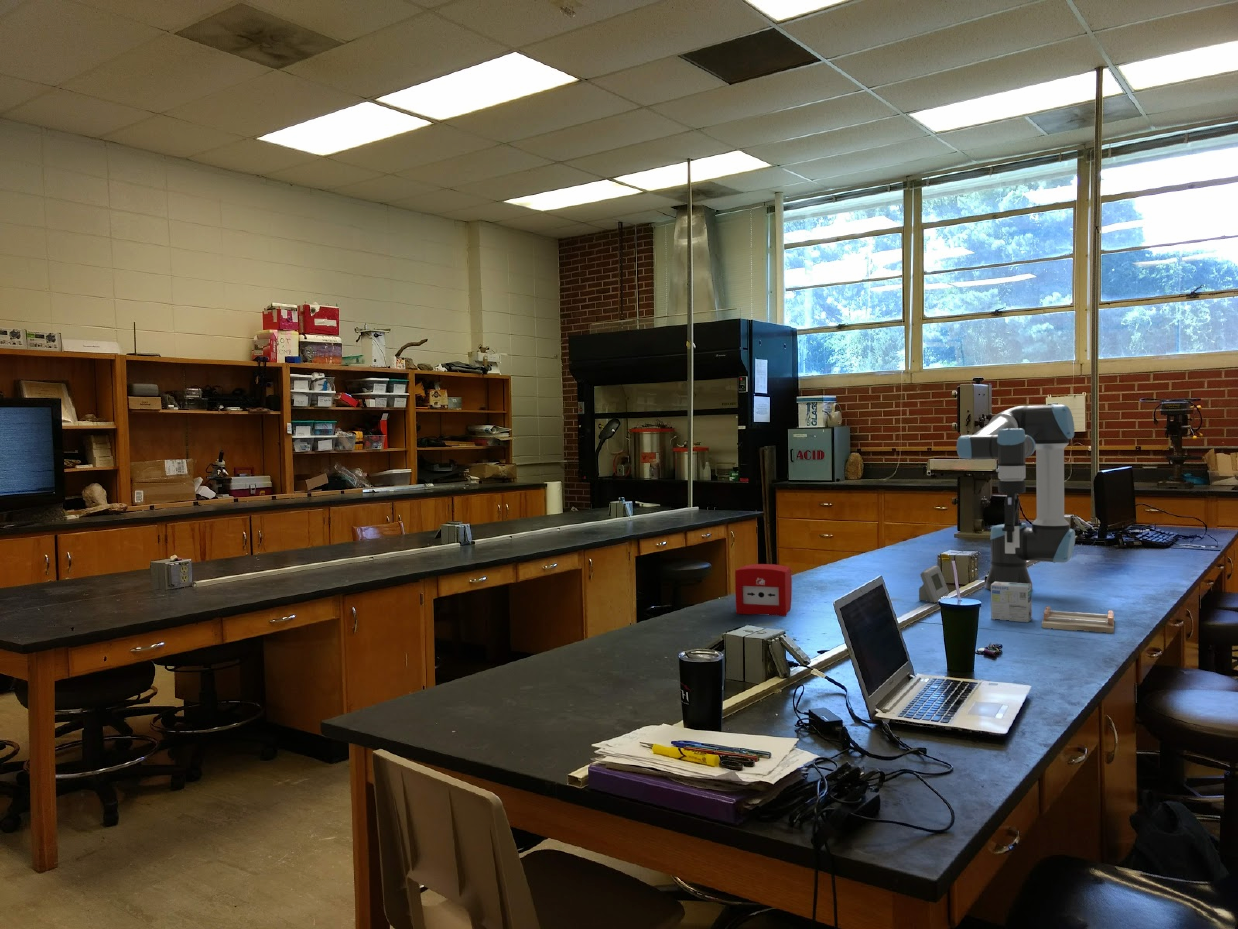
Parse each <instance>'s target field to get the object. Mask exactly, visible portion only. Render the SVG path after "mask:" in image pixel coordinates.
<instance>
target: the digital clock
mask: <svg viewBox="0 0 1238 929" xmlns="http://www.w3.org/2000/svg"><path fill="white" fill-rule="evenodd" d="M920 577H921V580H922V583H923V584H922V586H920V587H919V588H918V598H919V599H918V600H927V601H926V602H928V601H931V602H934V603H933V604H936V603H935V602H937V603H939V602H938V600H939V599H941V597H943V596H946V597H947V596H948V595H950V592H949V591H950V590H949V589H948V585H947V583H946V581H945V577H944V576H943V573H942V571H941V567H940V566H939V565H933V566H930V567H928V568H926V569H924V570H923V571H922V572H921V573H920ZM931 602H930V603H931Z"/></svg>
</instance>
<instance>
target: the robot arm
mask: <svg viewBox="0 0 1238 929" xmlns="http://www.w3.org/2000/svg"><path fill="white" fill-rule="evenodd" d="M1074 436H1075V422H1074V417H1073V414H1072V411H1071V409H1070V407H1069V406H1067V405H1065V404H1054V403H1052V404H1036V405H1032V404H1031V405H1019V406H1014V407H1011V408H1007V409H1006V410H1002V411H1001V412H999V413H997V414H995V415H993V416H992V417H991V419H990V420H989V423H988V424H987V425H985V426H984V427H982V428H981V429H979V430H978V431H977V432H975V433H973V434H966V435H960V436H959V437H958V438H957V441H956V452H957V455H958V458H959V459H965V460H966V459H967V460H985V459H986V460H988V459H989V460H991V459H992V460H994V459H995V460H996V459H997V467H998V468H996V469H995V472H996V473H997V478H998V479H999V480H998V482H997V491H998V493H999V494H1006V497H1005V498H1004V500H1003V504H1004V523H1003V524H1002V523H1001V524H997V525H994V526H992V527H991V530H990V538H989V540H990V568H989V571H988V574H987V578H986V580H985V589H987V590H990V591H991V584H992V583H994V582H1009V583H1026V584H1031V591H1033V582H1032V578H1031V576H1030V574H1029V571H1028V567H1027V564H1028V563H1027V561H1028V562H1043V563H1044V562H1045V563H1053V564H1056V563H1061V564H1062V563H1064V564H1065V563H1067V562H1069V561H1070V560H1071V559H1072V556H1073V553H1074V550H1075V545H1076V544H1075V543H1076V532H1075V529H1072V528H1070V522H1068V521H1067V520H1066V519H1065V448H1066V447H1067V446H1068V445H1069V444H1070V439H1073V438H1074ZM1034 452H1035V458H1036V459H1035V462H1036V463H1035V465H1036V466H1035V467H1036V469H1035V470H1036V471H1035V472H1036V473H1035V474H1036V475H1035V476H1036V478H1035V479H1036V518H1035V519H1034V520H1033V522H1031V527H1028V525H1027V523H1025V522H1021V521H1020V502H1021V501H1020V495H1019V494H1025V493H1026V492H1027V491H1026V487H1027V486H1026V480H1025V479H1026V478H1027V477H1026V471H1027V470H1026V466H1027V465H1026V459H1028V458H1029V457H1030V456H1032V455H1033V454H1034Z"/></svg>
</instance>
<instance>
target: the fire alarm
mask: <svg viewBox="0 0 1238 929" xmlns="http://www.w3.org/2000/svg"><path fill="white" fill-rule="evenodd" d="M734 571H735V572H734V577H735V578H734V580H735V582H734V585H735V589H734V590H735V610H736V611H735V613H736V614H737V615H738V614H739V615H754V614H769V615H768V616H772V615H779V616H778V617H787V616H786V615H788V613H789V612H790V611H791V610H790V609H792V594H793V593H792V592H793V590H792V589H793V586H792V584H793V580H792V567H791V566H786V565H780V564H771V563H767V564H766V563H756V564H755V563H754V564H753V563H752V564H749V565H748V564H747V565H743V566H741V567H739V568H738V569H735V570H734ZM789 610H790V611H789ZM788 611H789V612H788Z"/></svg>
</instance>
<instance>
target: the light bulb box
mask: <svg viewBox="0 0 1238 929" xmlns="http://www.w3.org/2000/svg"><path fill="white" fill-rule="evenodd" d="M1032 611H1033V610H1032V590H1031V584H1026V583H1009V582H994V583H992V584H991V590H990V616H991V618H990V619H991V620H995V619H1000V620H999V621H1006V620H1009V622H1020V623H1030V621H1031V620H1032V618H1033V615H1032V613H1033V612H1032Z"/></svg>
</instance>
